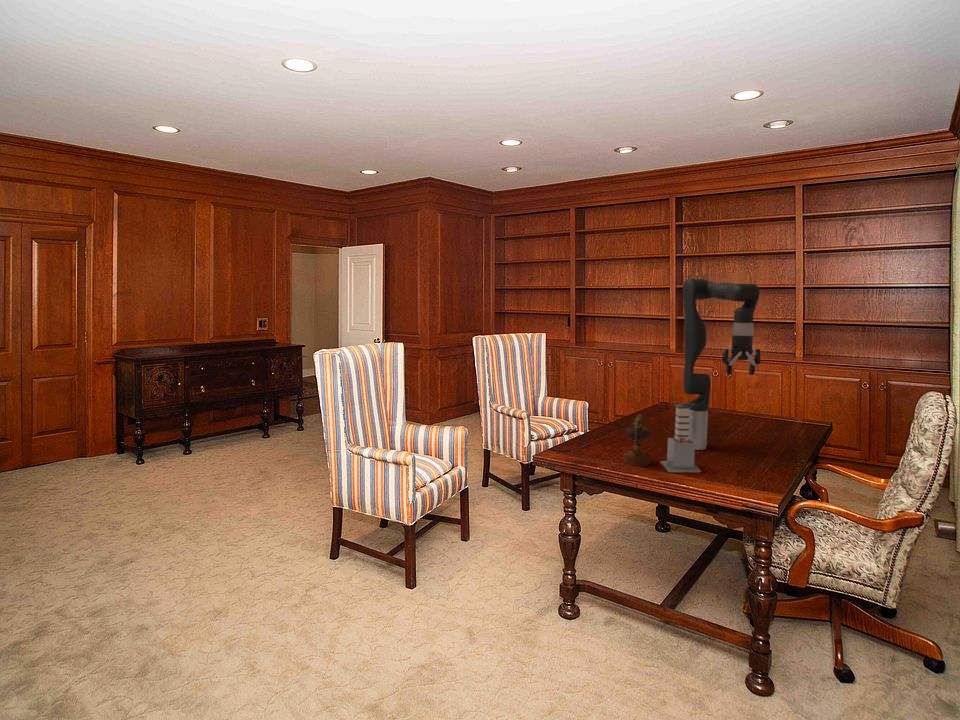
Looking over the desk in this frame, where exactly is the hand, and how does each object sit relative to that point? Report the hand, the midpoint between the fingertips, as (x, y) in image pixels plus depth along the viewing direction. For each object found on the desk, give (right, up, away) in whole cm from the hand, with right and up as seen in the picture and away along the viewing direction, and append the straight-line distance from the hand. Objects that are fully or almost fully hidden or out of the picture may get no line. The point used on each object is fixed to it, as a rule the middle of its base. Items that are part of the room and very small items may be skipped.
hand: (740, 374), depth 237 cm
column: (-25, -30, -4) cm, 40 cm away
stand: (-25, -37, -4) cm, 45 cm away
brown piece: (-40, -36, +4) cm, 54 cm away
